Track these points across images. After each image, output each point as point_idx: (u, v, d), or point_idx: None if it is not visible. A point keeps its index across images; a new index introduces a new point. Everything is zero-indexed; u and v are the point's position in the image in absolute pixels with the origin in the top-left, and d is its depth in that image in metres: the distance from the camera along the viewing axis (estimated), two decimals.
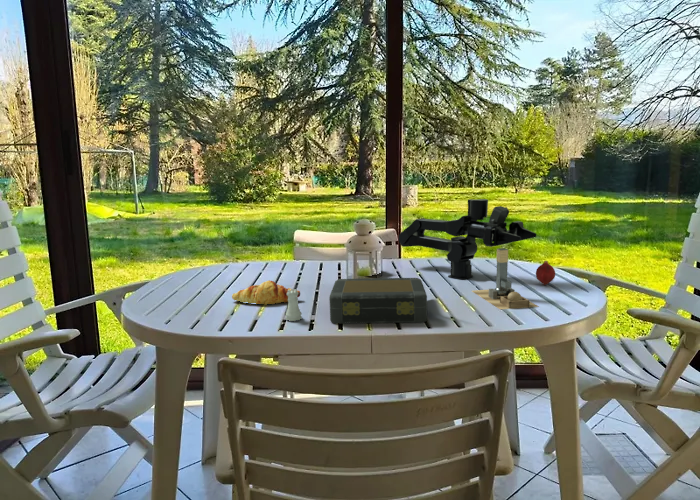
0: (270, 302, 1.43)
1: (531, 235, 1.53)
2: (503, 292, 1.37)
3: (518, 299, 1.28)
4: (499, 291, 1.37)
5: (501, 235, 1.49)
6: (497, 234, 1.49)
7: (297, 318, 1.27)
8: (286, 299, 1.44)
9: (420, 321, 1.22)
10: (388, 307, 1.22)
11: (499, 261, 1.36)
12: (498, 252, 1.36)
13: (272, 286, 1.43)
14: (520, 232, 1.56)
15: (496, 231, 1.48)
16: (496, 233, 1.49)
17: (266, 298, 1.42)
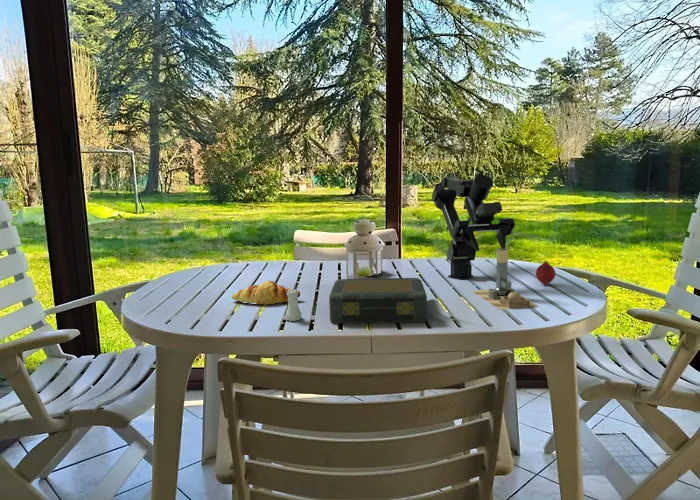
0: (270, 302, 1.43)
1: (502, 245, 1.46)
2: (503, 292, 1.37)
3: (518, 299, 1.28)
4: (499, 291, 1.37)
5: None
6: (465, 232, 1.46)
7: (297, 318, 1.27)
8: (286, 299, 1.44)
9: (420, 321, 1.22)
10: (388, 307, 1.22)
11: (499, 261, 1.36)
12: (498, 252, 1.36)
13: (272, 286, 1.43)
14: (499, 234, 1.48)
15: (464, 230, 1.45)
16: (465, 231, 1.46)
17: (266, 298, 1.42)
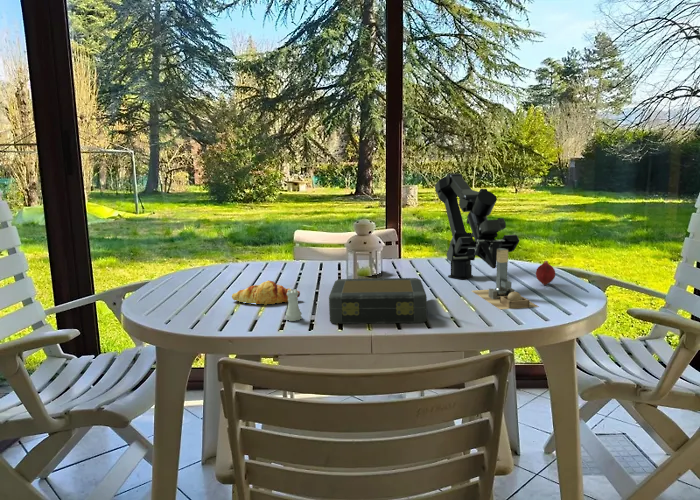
0: (269, 302, 1.42)
1: None
2: (503, 292, 1.37)
3: (518, 299, 1.28)
4: (499, 291, 1.37)
5: None
6: (480, 248, 1.44)
7: (297, 318, 1.27)
8: (285, 299, 1.44)
9: (420, 321, 1.22)
10: (388, 308, 1.22)
11: (499, 261, 1.36)
12: (498, 252, 1.36)
13: (272, 286, 1.43)
14: (491, 251, 1.45)
15: (479, 247, 1.44)
16: (480, 248, 1.44)
17: (265, 298, 1.42)
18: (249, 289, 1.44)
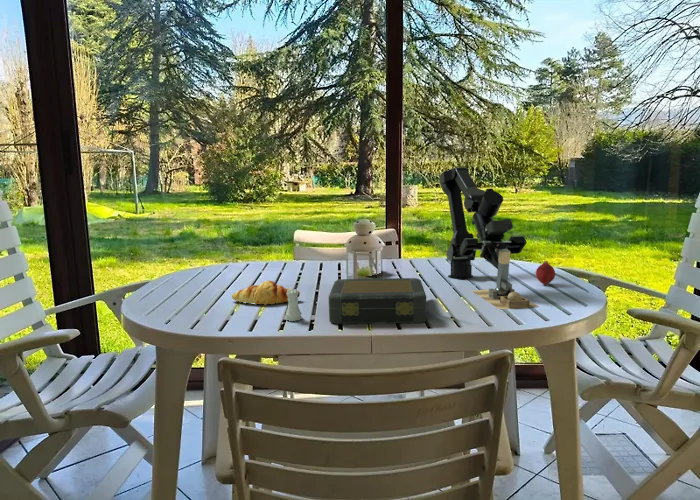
0: (269, 302, 1.42)
1: None
2: (503, 292, 1.37)
3: (518, 299, 1.28)
4: (499, 291, 1.37)
5: (491, 252, 1.40)
6: (486, 250, 1.40)
7: (297, 318, 1.27)
8: (285, 299, 1.43)
9: (419, 321, 1.22)
10: (388, 308, 1.22)
11: (501, 262, 1.35)
12: (500, 253, 1.35)
13: (271, 286, 1.43)
14: (497, 253, 1.41)
15: (486, 248, 1.39)
16: (486, 249, 1.40)
17: (265, 298, 1.42)
18: (249, 289, 1.44)
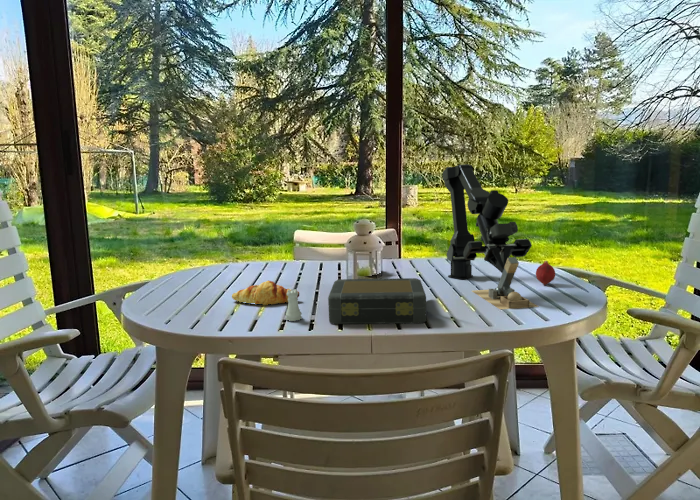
0: (269, 302, 1.42)
1: None
2: (503, 294, 1.37)
3: (518, 299, 1.28)
4: (499, 293, 1.37)
5: (495, 256, 1.37)
6: (490, 253, 1.37)
7: (297, 318, 1.27)
8: (285, 300, 1.43)
9: (419, 321, 1.22)
10: (387, 308, 1.22)
11: (507, 271, 1.31)
12: (508, 262, 1.30)
13: (271, 287, 1.43)
14: (501, 256, 1.38)
15: (490, 251, 1.36)
16: (490, 253, 1.37)
17: (265, 298, 1.42)
18: (249, 289, 1.44)
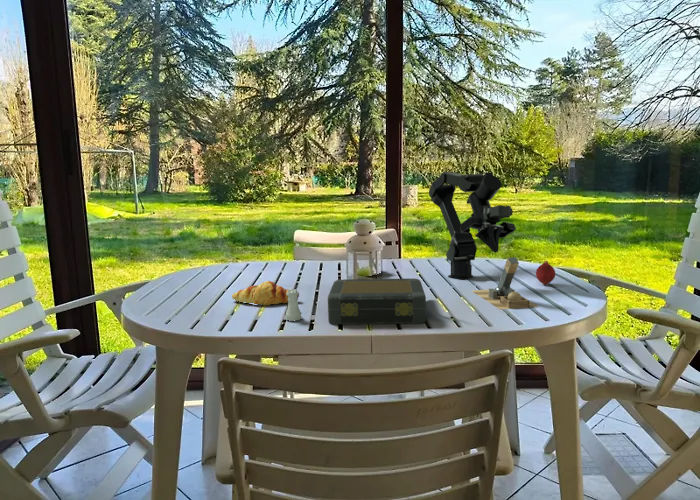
0: (268, 303, 1.42)
1: None
2: (503, 294, 1.37)
3: (518, 299, 1.28)
4: (499, 293, 1.37)
5: (488, 234, 1.48)
6: (485, 231, 1.47)
7: (297, 318, 1.27)
8: (284, 300, 1.43)
9: (419, 322, 1.21)
10: (387, 308, 1.21)
11: (507, 271, 1.31)
12: (508, 262, 1.30)
13: (270, 287, 1.42)
14: None
15: (486, 229, 1.46)
16: (485, 230, 1.47)
17: (264, 299, 1.41)
18: (248, 289, 1.44)
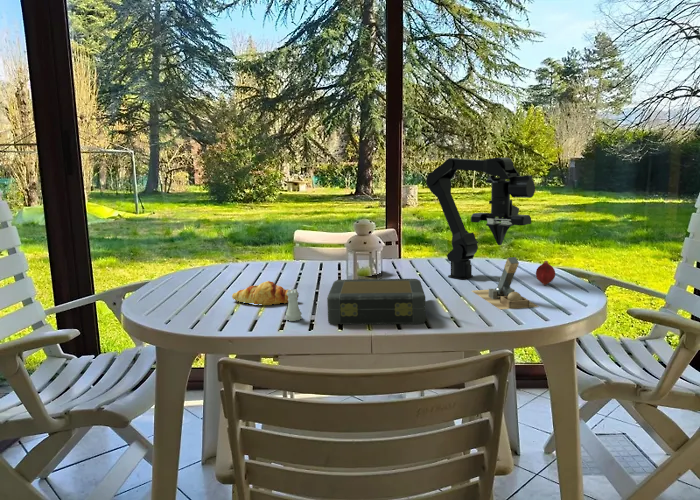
0: (267, 303, 1.42)
1: None
2: (503, 294, 1.37)
3: (518, 299, 1.28)
4: (499, 293, 1.37)
5: (504, 227, 1.56)
6: (508, 225, 1.55)
7: (297, 318, 1.27)
8: (283, 300, 1.43)
9: (418, 322, 1.21)
10: (386, 309, 1.21)
11: (507, 271, 1.31)
12: (508, 262, 1.30)
13: (270, 287, 1.42)
14: None
15: None
16: (509, 225, 1.55)
17: (263, 299, 1.41)
18: (248, 289, 1.44)
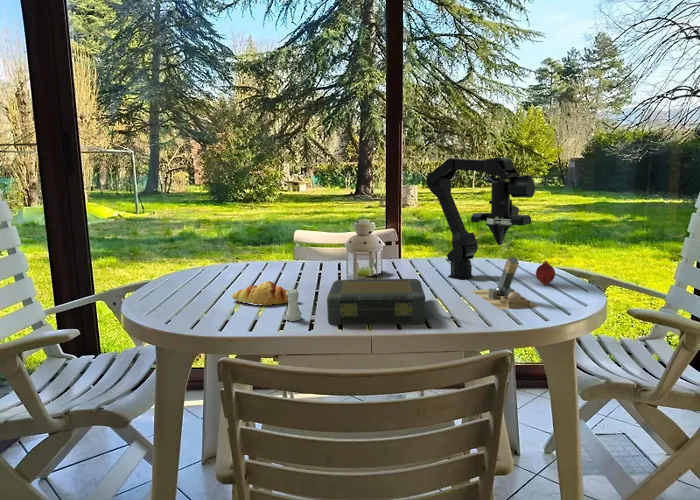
0: (267, 303, 1.42)
1: None
2: (503, 294, 1.37)
3: (518, 299, 1.28)
4: (499, 293, 1.37)
5: (504, 227, 1.56)
6: (509, 225, 1.55)
7: (297, 318, 1.27)
8: (283, 301, 1.42)
9: (418, 322, 1.21)
10: (386, 309, 1.21)
11: (507, 271, 1.31)
12: (508, 262, 1.30)
13: (269, 287, 1.42)
14: None
15: None
16: (509, 225, 1.55)
17: (263, 299, 1.41)
18: (248, 289, 1.44)
